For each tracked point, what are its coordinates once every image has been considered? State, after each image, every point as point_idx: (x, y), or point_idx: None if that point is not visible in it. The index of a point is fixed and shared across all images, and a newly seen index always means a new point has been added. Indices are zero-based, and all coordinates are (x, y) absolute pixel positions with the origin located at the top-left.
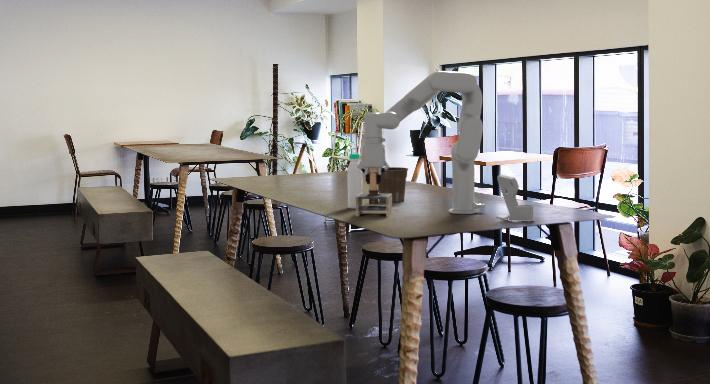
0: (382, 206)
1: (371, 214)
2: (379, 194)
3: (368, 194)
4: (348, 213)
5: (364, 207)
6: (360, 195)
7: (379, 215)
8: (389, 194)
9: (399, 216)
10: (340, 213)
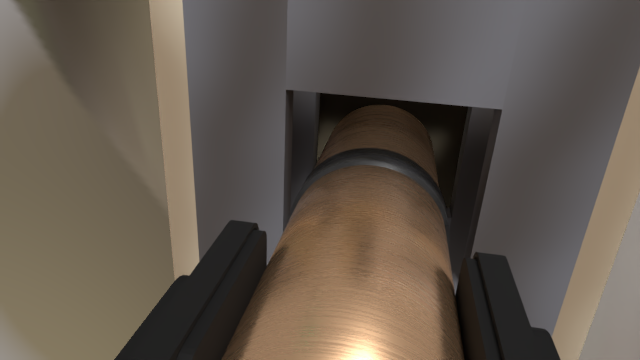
0: (480, 143)
1: (363, 103)
2: (462, 104)
3: (289, 89)
4: (146, 25)
5: (293, 201)
6: (204, 214)
7: (438, 171)
8: (631, 145)
9: (620, 244)
10: (78, 23)
